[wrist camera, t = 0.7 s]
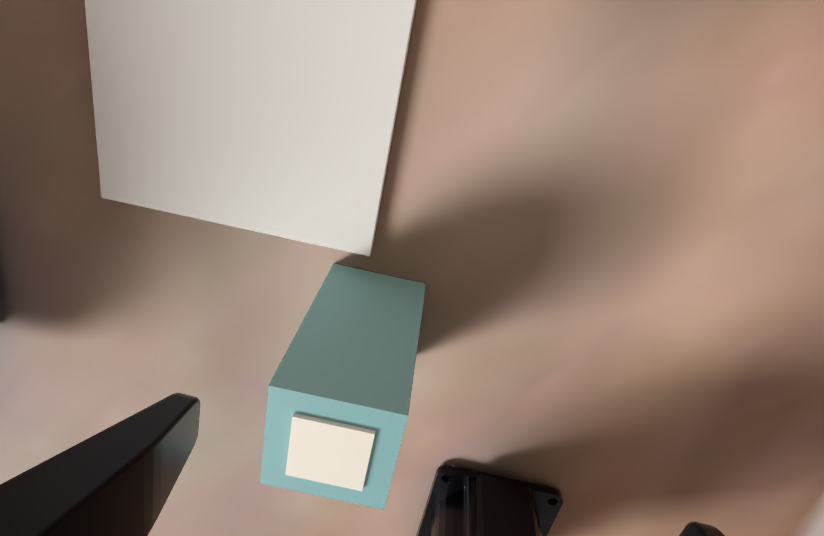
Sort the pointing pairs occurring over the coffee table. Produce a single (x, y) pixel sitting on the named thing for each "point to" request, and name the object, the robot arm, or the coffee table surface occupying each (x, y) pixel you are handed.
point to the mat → (250, 110)
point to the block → (345, 389)
